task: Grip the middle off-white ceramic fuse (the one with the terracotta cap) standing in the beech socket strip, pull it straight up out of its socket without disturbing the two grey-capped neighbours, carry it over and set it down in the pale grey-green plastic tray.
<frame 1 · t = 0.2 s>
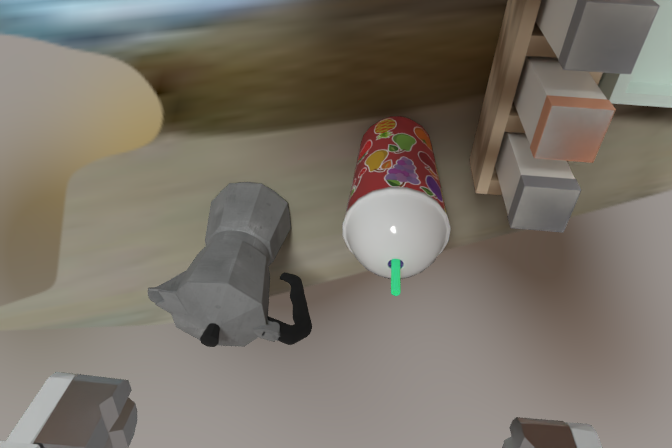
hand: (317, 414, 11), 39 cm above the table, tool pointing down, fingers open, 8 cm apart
socket strip: (534, 60, 44), on the table
fuse 1: (518, 135, 47), point 1 cm above the table, touching socket strip
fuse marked: (538, 67, 43), point 1 cm above the table, touching socket strip
smoothie: (395, 140, 51), on the table
coffeepot: (261, 214, 59), on the table
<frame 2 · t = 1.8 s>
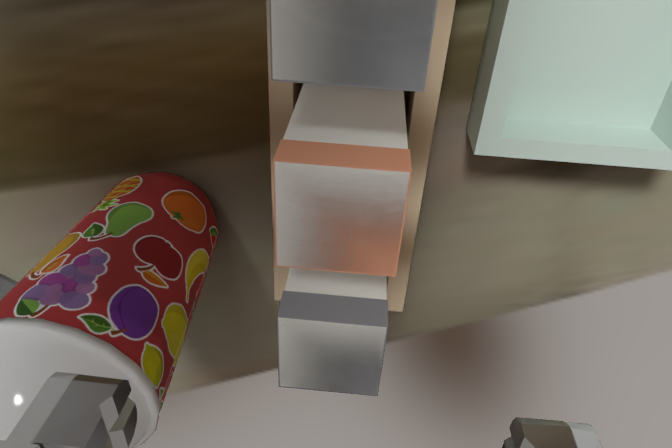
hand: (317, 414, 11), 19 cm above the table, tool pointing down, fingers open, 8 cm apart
socket strip: (356, 83, 27), on the table
fuse 1: (347, 205, 29), point 1 cm above the table, touching socket strip
tray: (600, 17, 24), on the table
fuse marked: (355, 94, 25), point 1 cm above the table, touching socket strip
smoothie: (171, 208, 32), on the table
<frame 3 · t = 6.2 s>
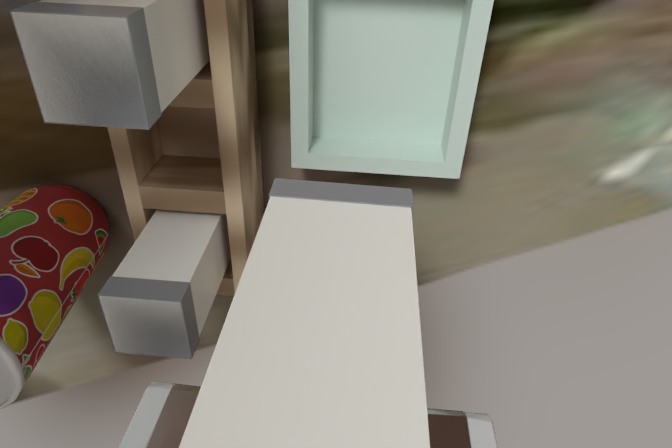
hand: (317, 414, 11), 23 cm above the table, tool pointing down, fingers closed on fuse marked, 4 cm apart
socket strip: (203, 110, 33), on the table
fuse 1: (208, 209, 35), point 1 cm above the table, touching socket strip
tray: (383, 56, 30), on the table
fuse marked: (339, 239, 17), point 17 cm above the table, touching gripper
fuse 2: (181, 6, 28), point 1 cm above the table, touching socket strip
smoothie: (72, 215, 38), on the table
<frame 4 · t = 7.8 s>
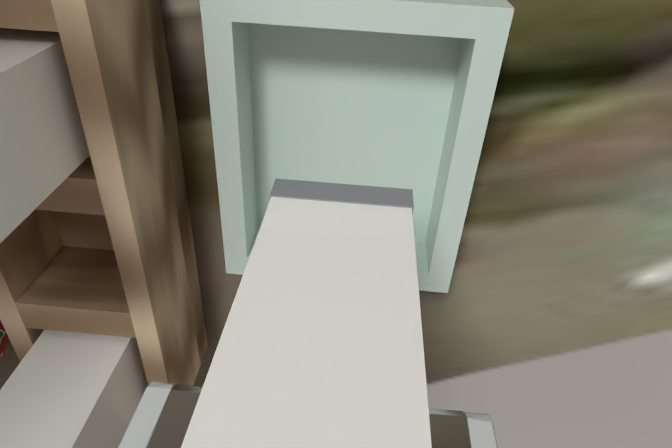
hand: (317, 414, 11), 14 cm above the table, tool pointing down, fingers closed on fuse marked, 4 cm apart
socket strip: (115, 190, 25), on the table
fuse 1: (128, 309, 27), point 1 cm above the table, touching socket strip
tray: (348, 132, 22), on the table
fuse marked: (340, 239, 17), point 7 cm above the table, touching gripper
fuse 2: (66, 66, 20), point 1 cm above the table, touching socket strip
when the fingers open (9 cm above the table, at t = 8.9 s): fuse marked drops 2 cm, resting on tray.
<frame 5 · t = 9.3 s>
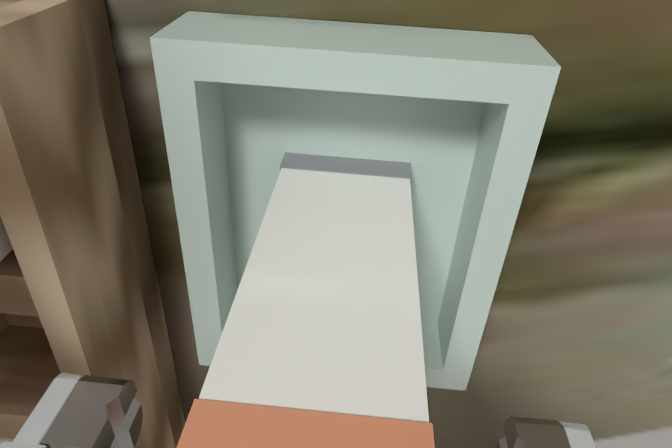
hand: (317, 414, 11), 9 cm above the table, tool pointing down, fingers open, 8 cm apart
socket strip: (71, 260, 21), on the table
tray: (345, 199, 18), on the table
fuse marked: (343, 210, 18), point 1 cm above the table, touching tray
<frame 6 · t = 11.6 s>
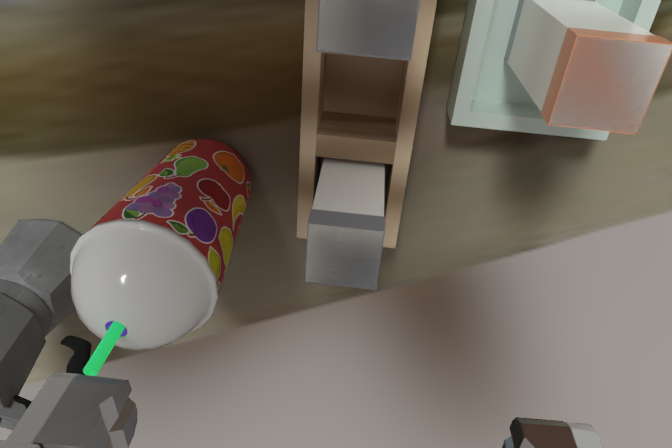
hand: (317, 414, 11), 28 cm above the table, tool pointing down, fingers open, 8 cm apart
socket strip: (364, 71, 35), on the table
fuse 1: (354, 166, 37), point 1 cm above the table, touching socket strip
tray: (543, 25, 33), on the table
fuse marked: (545, 29, 32), point 1 cm above the table, touching tray
smoothie: (213, 170, 41), on the table
coffeepot: (69, 261, 47), on the table
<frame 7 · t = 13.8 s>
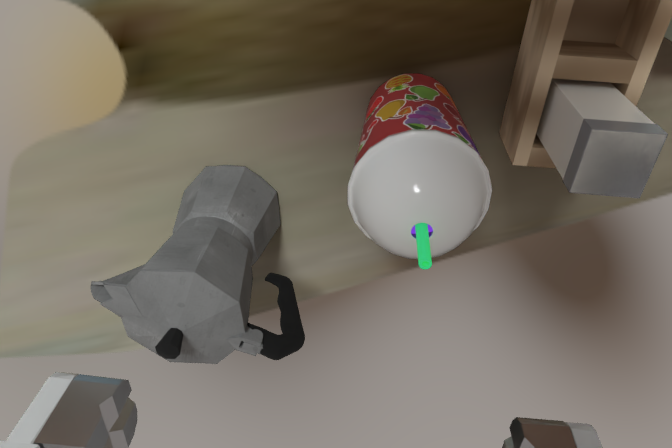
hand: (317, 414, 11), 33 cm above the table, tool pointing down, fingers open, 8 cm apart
fuse 1: (562, 96, 38), point 1 cm above the table, touching socket strip
smoothie: (409, 108, 42), on the table
coffeepot: (245, 208, 48), on the table
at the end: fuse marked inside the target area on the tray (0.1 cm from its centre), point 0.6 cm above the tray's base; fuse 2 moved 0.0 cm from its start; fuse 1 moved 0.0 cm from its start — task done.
